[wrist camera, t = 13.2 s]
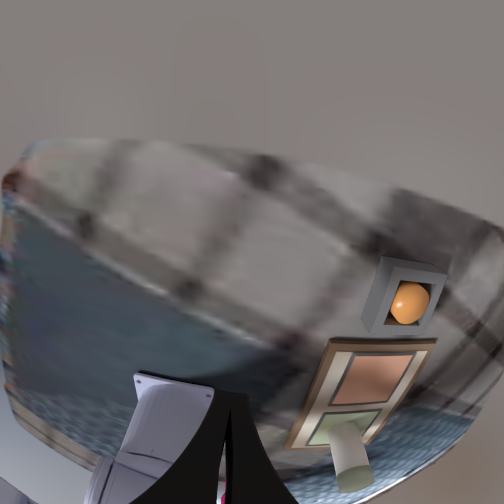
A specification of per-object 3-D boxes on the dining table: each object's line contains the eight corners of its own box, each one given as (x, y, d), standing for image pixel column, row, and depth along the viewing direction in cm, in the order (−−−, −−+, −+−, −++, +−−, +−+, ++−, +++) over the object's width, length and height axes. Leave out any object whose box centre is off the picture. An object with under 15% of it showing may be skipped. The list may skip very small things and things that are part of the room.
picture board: (367, 441, 28) (368, 445, 27) (283, 446, 27) (283, 451, 27) (433, 340, 22) (436, 344, 21) (329, 339, 22) (331, 344, 21)
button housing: (411, 321, 21) (422, 334, 19) (360, 318, 21) (369, 334, 19) (433, 264, 19) (447, 274, 17) (381, 255, 19) (394, 266, 17)
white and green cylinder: (348, 438, 26) (362, 491, 18) (322, 437, 26) (332, 494, 18) (363, 421, 25) (381, 476, 17) (336, 420, 25) (350, 480, 17)
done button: (410, 313, 20) (419, 324, 18) (380, 311, 20) (389, 323, 18) (423, 279, 19) (434, 289, 17) (393, 275, 19) (403, 285, 17)
